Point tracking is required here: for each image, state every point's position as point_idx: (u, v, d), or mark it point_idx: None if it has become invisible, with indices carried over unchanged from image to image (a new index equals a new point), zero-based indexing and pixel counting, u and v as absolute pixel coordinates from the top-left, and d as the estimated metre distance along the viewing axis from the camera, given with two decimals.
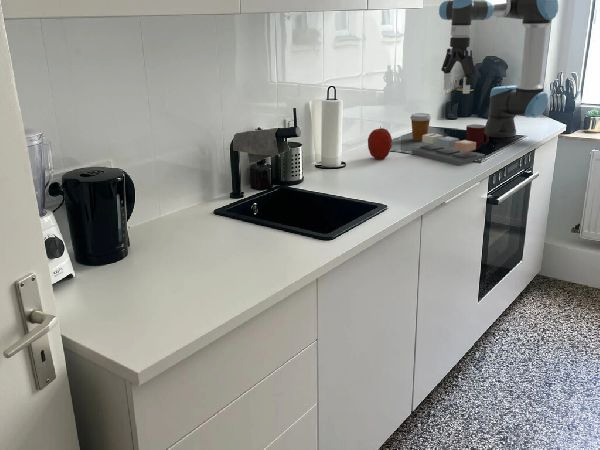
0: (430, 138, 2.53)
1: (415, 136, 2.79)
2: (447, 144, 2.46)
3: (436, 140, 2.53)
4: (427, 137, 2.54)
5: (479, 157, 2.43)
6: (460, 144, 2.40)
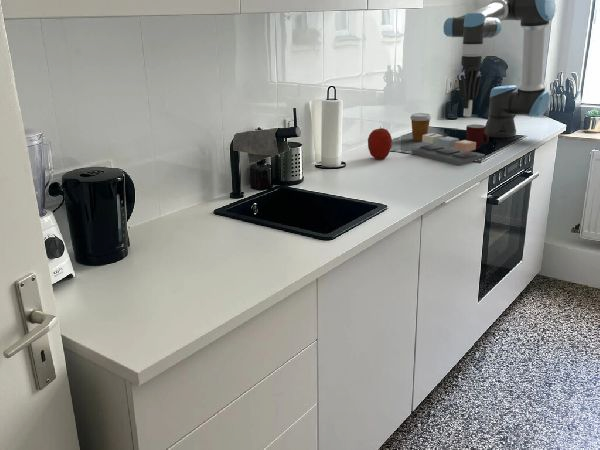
0: (430, 138, 2.53)
1: (415, 136, 2.79)
2: (447, 144, 2.46)
3: (436, 140, 2.53)
4: (427, 137, 2.54)
5: (479, 157, 2.43)
6: (460, 144, 2.40)
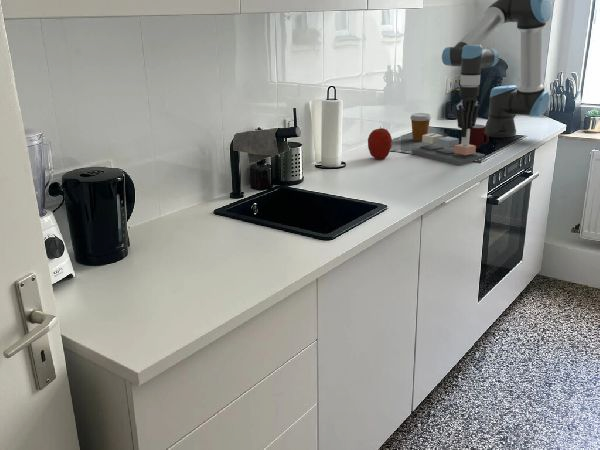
0: (430, 138, 2.53)
1: (415, 136, 2.79)
2: (447, 144, 2.46)
3: (436, 140, 2.53)
4: (427, 137, 2.54)
5: (479, 157, 2.43)
6: (460, 147, 2.40)
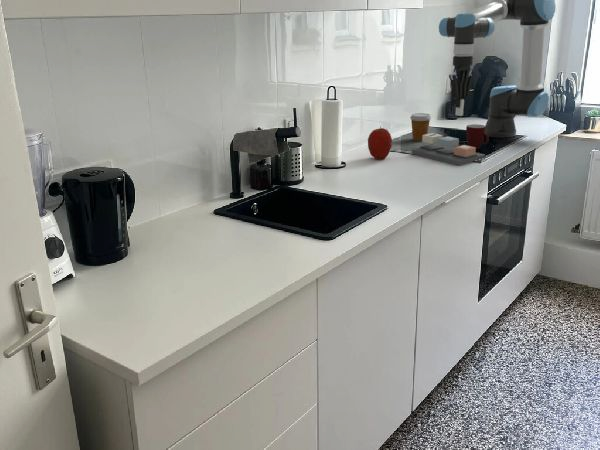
0: (430, 138, 2.53)
1: (415, 136, 2.79)
2: (447, 144, 2.46)
3: (436, 140, 2.53)
4: (427, 137, 2.54)
5: (479, 157, 2.43)
6: (460, 149, 2.41)
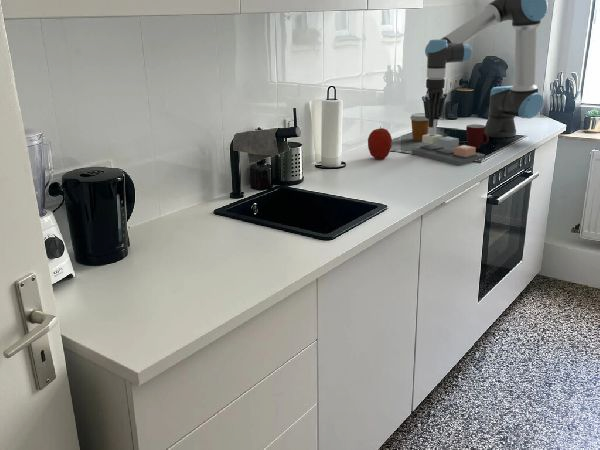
0: (430, 138, 2.53)
1: (415, 136, 2.79)
2: (447, 144, 2.46)
3: (436, 140, 2.53)
4: (427, 137, 2.54)
5: (479, 157, 2.43)
6: (460, 149, 2.41)
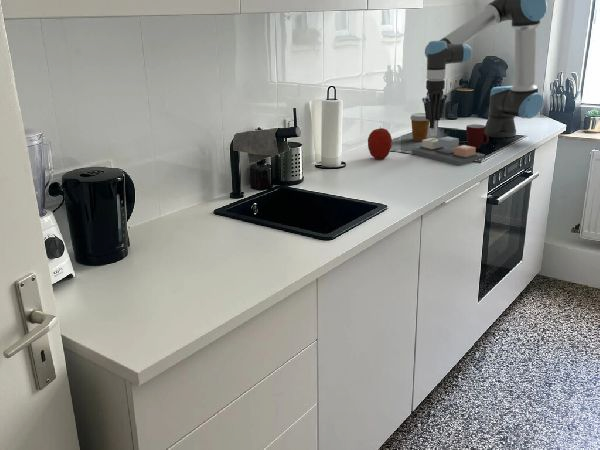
0: (430, 143, 2.53)
1: (415, 136, 2.79)
2: (447, 144, 2.46)
3: (436, 145, 2.54)
4: (427, 142, 2.55)
5: (479, 157, 2.43)
6: (460, 149, 2.41)
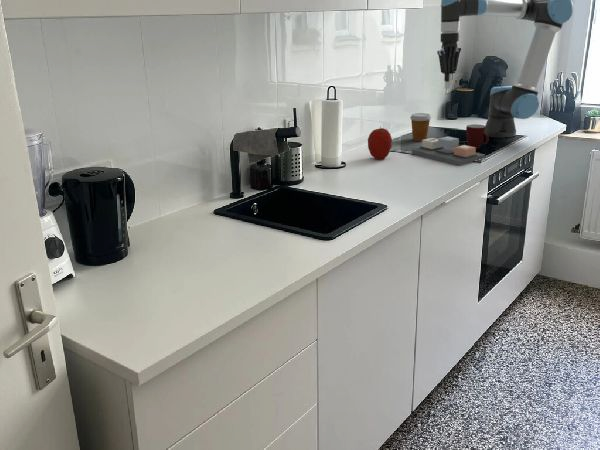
0: (430, 143, 2.53)
1: (415, 136, 2.79)
2: (447, 144, 2.46)
3: (436, 145, 2.54)
4: (427, 142, 2.55)
5: (479, 157, 2.43)
6: (460, 149, 2.41)
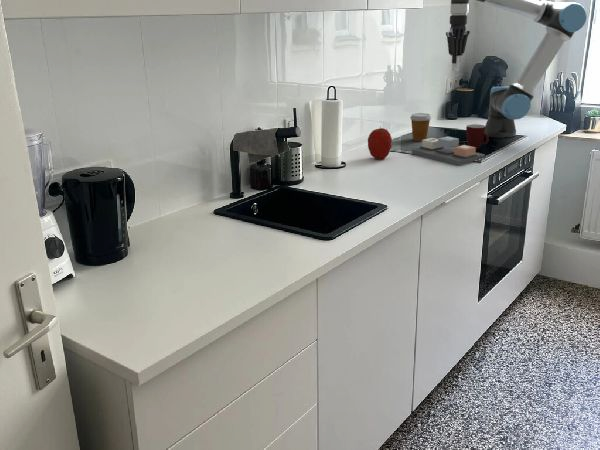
0: (430, 143, 2.53)
1: (415, 136, 2.79)
2: (447, 144, 2.46)
3: (436, 145, 2.54)
4: (427, 142, 2.55)
5: (479, 157, 2.43)
6: (460, 149, 2.41)
